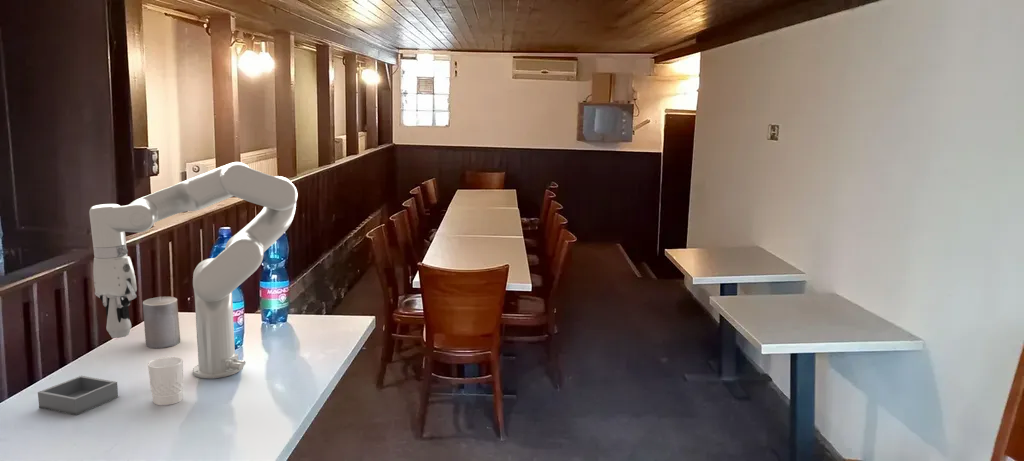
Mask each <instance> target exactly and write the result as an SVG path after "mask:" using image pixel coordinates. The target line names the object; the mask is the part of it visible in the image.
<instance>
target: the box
mask: <svg viewBox="0 0 1024 461" xmlns="http://www.w3.org/2000/svg"><path fill="white" fill-rule="evenodd" d="M118 390H119V389H118V381H113V380H108V379H102V378H96V377H91V376H85V375H79V376H76V377H74V378H71V379H69V380H66V381H64V382H61V383H58V384H55V385H54V386H51V387H48V388H45V389H42V390H39V391H38V392H37V398H38V408H39V409H43V410H48V411H53V412H58V413H62V414H63V413H64V414H66V415H67V414H68V415H72V416H78V415H81V414H83V413H85V412H88V411H90V410H92V409H94V408H96V407H99V406H101V405H104V404H105V403H108V402H110V401H113V400H115V399H117V398H119V391H118Z"/></svg>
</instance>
